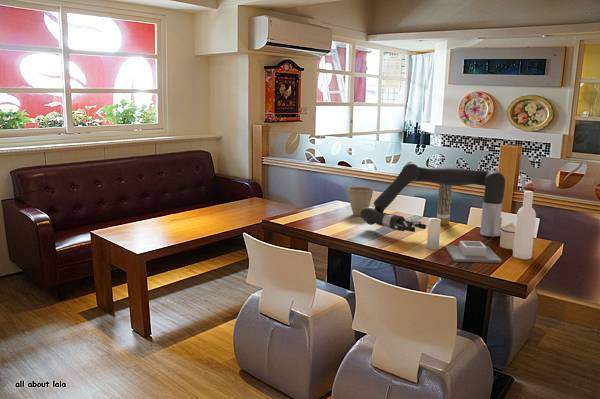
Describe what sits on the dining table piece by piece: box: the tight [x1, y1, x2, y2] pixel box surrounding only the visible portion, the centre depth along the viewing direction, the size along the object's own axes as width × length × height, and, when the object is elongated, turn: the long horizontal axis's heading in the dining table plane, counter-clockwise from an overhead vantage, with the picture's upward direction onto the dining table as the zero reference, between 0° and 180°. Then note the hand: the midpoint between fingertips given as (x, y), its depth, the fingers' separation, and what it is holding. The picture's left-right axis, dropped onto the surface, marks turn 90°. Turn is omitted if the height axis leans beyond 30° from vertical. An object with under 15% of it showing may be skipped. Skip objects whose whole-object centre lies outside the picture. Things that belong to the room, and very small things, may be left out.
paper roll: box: [426, 217, 441, 251], centre depth 235 cm, size 5×5×14 cm
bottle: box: [512, 190, 537, 260], centre depth 222 cm, size 8×8×30 cm
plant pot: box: [347, 186, 374, 217], centre depth 299 cm, size 15×15×16 cm
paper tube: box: [436, 184, 453, 226], centre depth 279 cm, size 7×7×25 cm
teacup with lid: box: [499, 222, 516, 250], centre depth 239 cm, size 12×9×12 cm
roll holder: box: [444, 240, 503, 264], centre depth 226 cm, size 20×20×5 cm
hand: (420, 228), depth 241 cm, fingers open, 8 cm apart
